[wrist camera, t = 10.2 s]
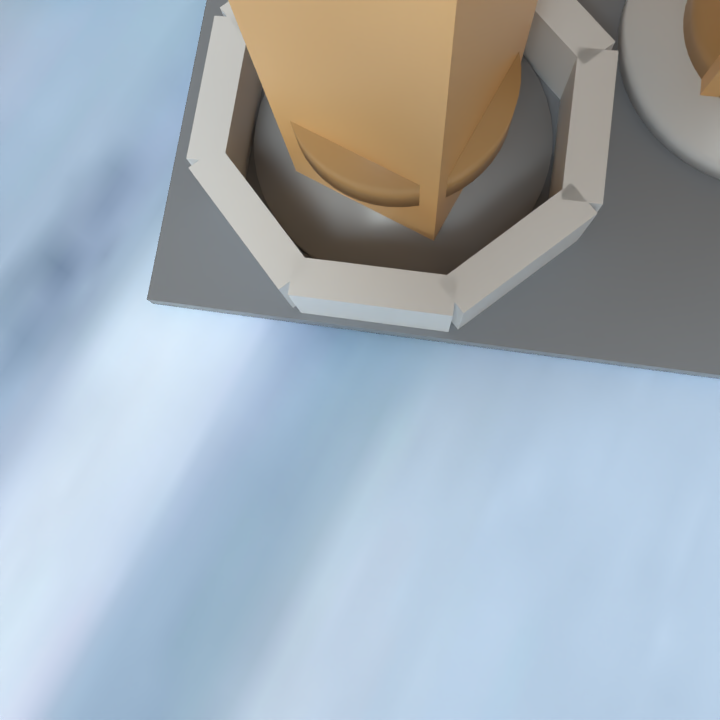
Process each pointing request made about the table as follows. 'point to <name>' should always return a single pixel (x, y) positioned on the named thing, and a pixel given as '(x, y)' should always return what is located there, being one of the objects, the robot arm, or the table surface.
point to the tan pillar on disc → (390, 93)
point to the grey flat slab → (481, 204)
